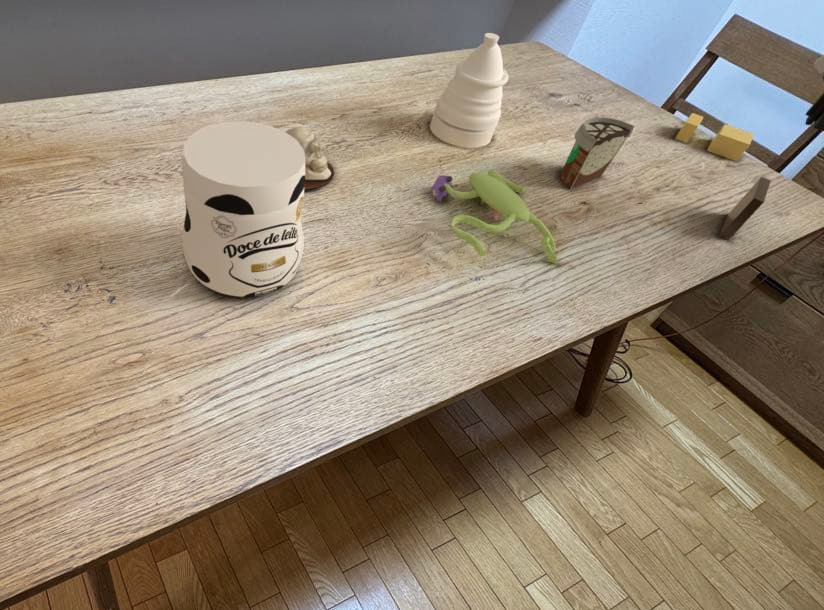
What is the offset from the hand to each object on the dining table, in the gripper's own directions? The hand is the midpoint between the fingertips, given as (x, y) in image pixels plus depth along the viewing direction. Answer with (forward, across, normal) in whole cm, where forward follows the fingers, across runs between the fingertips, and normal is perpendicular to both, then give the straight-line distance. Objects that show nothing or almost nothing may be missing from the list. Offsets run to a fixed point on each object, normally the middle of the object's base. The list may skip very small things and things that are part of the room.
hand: (819, 124), depth 79 cm
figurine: (+19, +34, +31) cm, 50 cm away
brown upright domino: (+19, 0, 0) cm, 19 cm away
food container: (+19, +28, +4) cm, 34 cm away
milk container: (+19, +58, +68) cm, 91 cm away
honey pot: (+19, +52, +5) cm, 55 cm away
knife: (-1, 0, -4) cm, 4 cm away
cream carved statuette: (+19, +67, +41) cm, 81 cm away
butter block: (+19, +6, -31) cm, 37 cm away
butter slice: (+19, +14, -31) cm, 39 cm away
